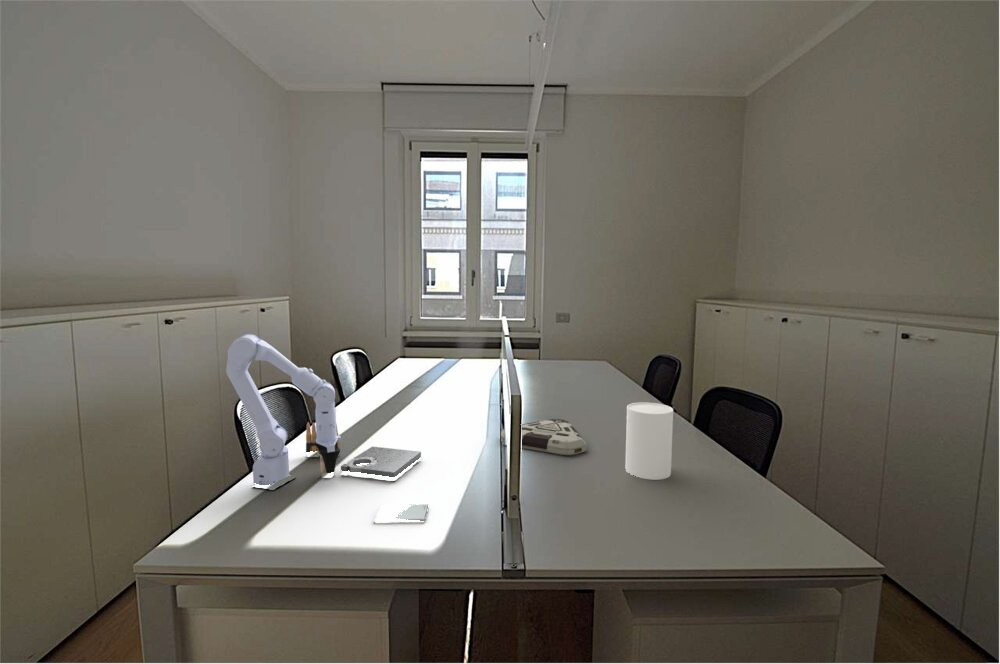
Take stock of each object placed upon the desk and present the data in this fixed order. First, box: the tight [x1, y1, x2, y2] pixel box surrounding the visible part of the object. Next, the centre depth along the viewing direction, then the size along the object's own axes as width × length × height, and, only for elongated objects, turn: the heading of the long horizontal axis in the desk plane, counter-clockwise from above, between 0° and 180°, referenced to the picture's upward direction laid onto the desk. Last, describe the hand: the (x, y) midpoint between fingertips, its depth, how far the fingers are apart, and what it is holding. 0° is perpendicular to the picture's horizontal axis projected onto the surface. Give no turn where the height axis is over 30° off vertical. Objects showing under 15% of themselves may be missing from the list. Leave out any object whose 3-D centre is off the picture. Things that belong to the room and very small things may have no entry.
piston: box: [319, 454, 336, 474], centre depth 147 cm, size 4×4×7 cm
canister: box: [624, 401, 674, 481], centre depth 150 cm, size 14×14×20 cm
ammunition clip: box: [305, 421, 340, 453], centre depth 163 cm, size 11×2×12 cm, turn 95°
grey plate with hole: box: [340, 446, 422, 477], centre depth 154 cm, size 18×18×3 cm
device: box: [500, 418, 587, 457], centre depth 181 cm, size 33×27×5 cm
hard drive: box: [396, 503, 429, 522], centre depth 123 cm, size 2×8×12 cm
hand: (328, 467), depth 147 cm, fingers open, 7 cm apart
